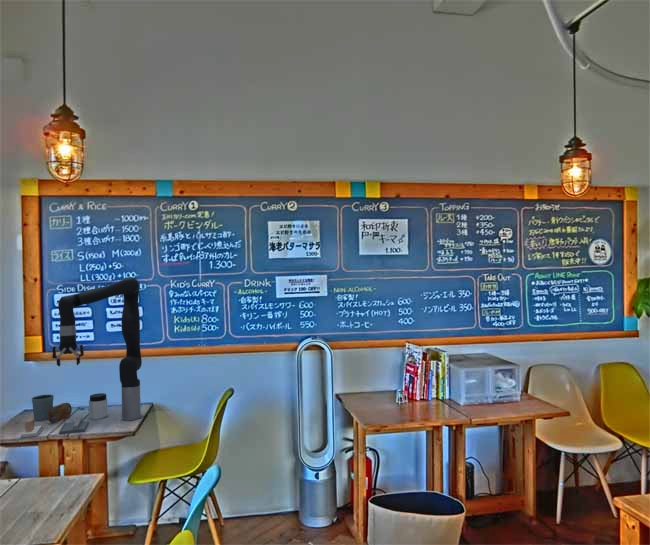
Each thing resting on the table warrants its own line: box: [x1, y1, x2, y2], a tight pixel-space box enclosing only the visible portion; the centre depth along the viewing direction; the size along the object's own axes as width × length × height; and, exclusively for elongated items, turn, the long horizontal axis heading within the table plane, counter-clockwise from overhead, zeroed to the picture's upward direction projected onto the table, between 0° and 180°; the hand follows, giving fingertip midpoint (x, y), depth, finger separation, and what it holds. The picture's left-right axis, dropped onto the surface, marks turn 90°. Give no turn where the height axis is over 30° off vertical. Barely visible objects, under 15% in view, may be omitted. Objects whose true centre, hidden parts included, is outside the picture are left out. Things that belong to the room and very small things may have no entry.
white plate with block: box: [20, 417, 44, 439], centre depth 237 cm, size 7×12×6 cm, turn 19°
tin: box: [47, 402, 73, 424], centre depth 259 cm, size 15×3×8 cm, turn 168°
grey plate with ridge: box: [58, 416, 90, 435], centre depth 243 cm, size 11×15×4 cm
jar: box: [88, 392, 108, 420], centre depth 263 cm, size 9×8×12 cm
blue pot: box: [31, 394, 54, 422], centre depth 261 cm, size 10×10×12 cm
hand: (68, 365), depth 252 cm, fingers open, 8 cm apart
